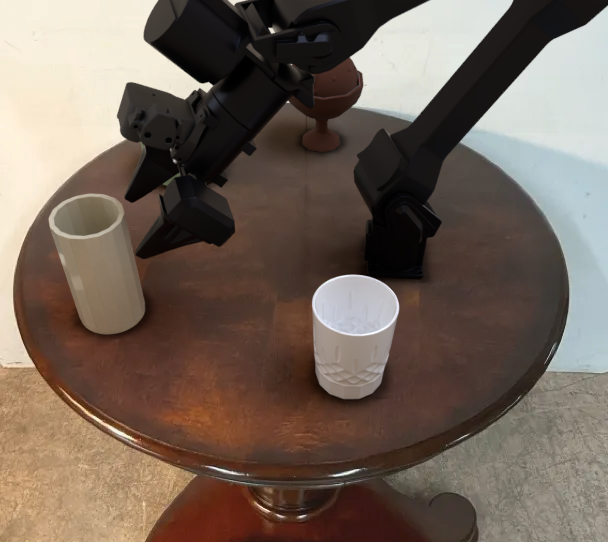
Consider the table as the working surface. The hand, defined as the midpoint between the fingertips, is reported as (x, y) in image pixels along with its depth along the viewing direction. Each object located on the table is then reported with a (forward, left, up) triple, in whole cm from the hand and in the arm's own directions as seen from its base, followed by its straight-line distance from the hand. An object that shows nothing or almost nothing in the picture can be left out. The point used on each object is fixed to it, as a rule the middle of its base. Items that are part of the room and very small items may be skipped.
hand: (133, 227), depth 69 cm
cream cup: (+4, +1, -11) cm, 11 cm away
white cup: (-22, +8, -11) cm, 26 cm away
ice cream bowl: (-17, -35, -11) cm, 40 cm away
